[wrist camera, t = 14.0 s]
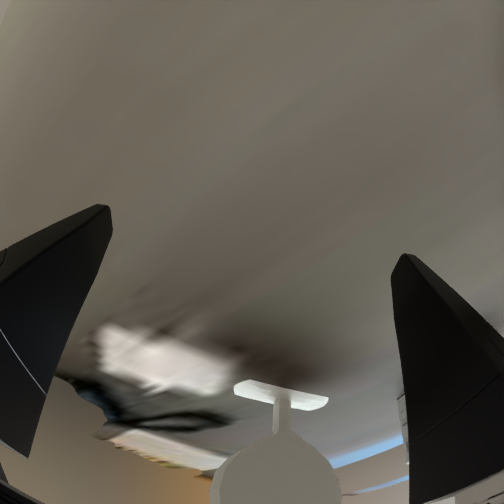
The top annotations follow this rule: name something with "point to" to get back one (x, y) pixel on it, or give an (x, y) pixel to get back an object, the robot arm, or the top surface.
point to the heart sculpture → (277, 458)
